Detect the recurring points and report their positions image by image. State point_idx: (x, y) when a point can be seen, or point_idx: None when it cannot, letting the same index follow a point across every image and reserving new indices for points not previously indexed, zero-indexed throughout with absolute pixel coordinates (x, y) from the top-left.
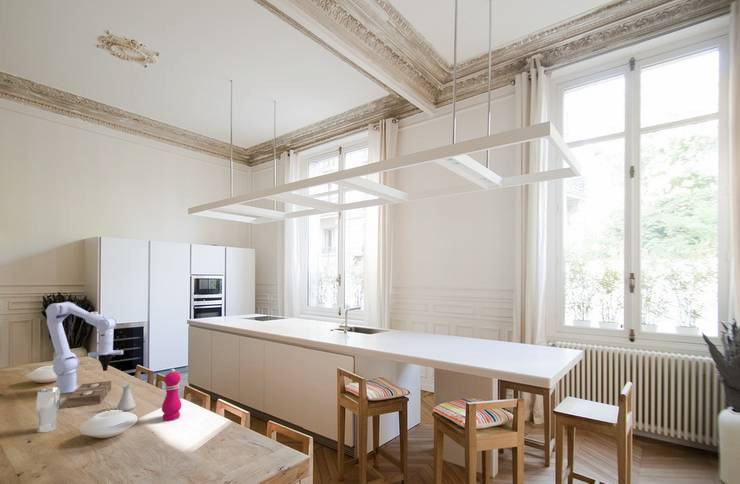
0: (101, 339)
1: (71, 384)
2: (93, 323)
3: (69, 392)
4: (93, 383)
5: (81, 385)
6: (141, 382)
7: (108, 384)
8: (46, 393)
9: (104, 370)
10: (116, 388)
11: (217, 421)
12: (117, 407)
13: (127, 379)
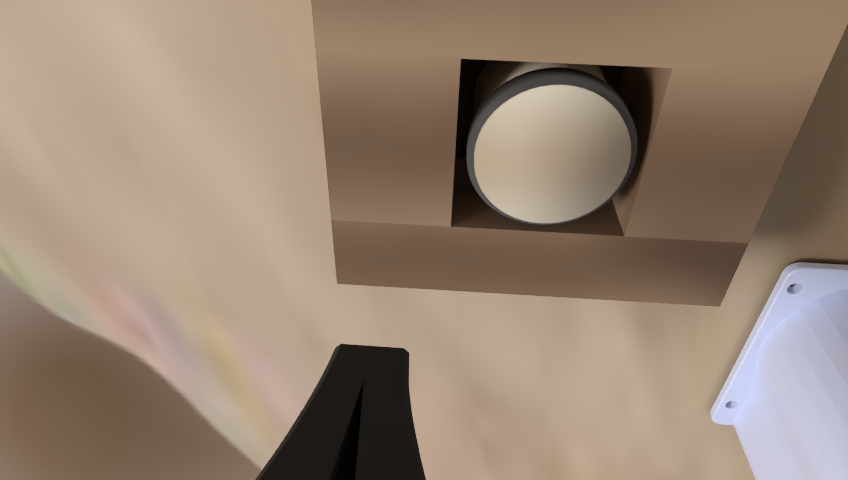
0: None
1: (841, 366)
2: None
3: (825, 264)
4: (571, 268)
5: (740, 242)
6: (82, 307)
7: (322, 111)
8: None
9: (373, 353)
10: (294, 208)
11: None
12: None
13: (282, 438)
